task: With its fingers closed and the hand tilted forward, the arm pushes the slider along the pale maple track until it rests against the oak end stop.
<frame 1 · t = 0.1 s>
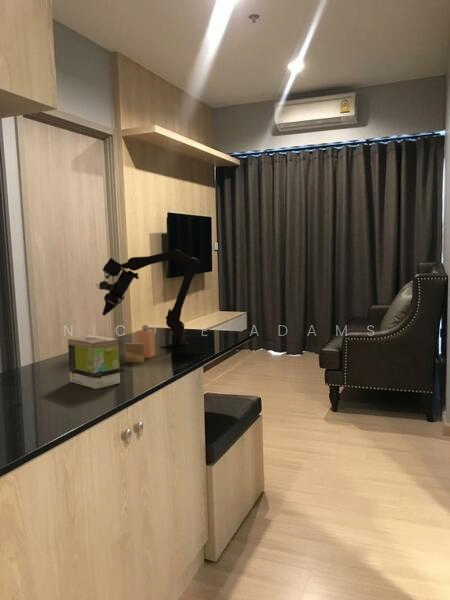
hand: (105, 313, 225), 15 cm above the worktop, tool tilted 35°, fingers open, 9 cm apart
tea box: (95, 383, 169), on the worktop
track: (145, 360, 199), on the worktop
slider: (146, 340, 199), point 7 cm above the worktop, slide at 0.0 cm
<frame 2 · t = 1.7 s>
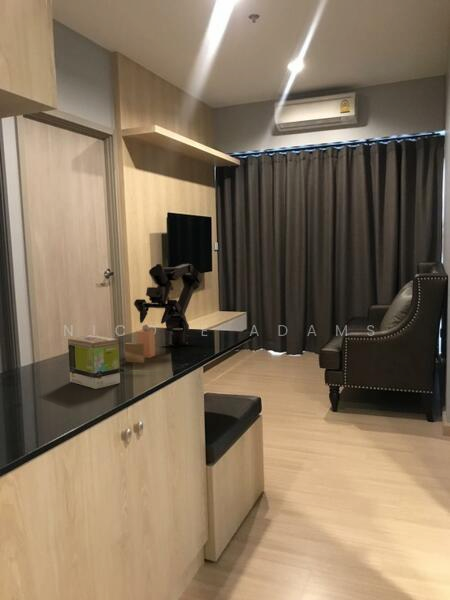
hand: (151, 322, 204), 13 cm above the worktop, tool tilted 45°, fingers open, 9 cm apart
nothing on the worktop moved.
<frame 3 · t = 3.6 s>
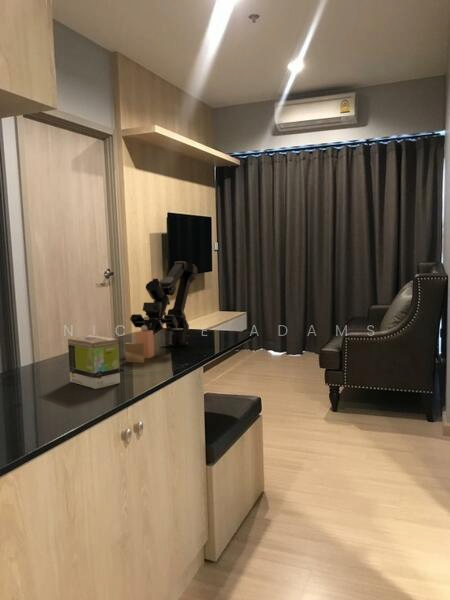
hand: (147, 338, 200), 8 cm above the worktop, tool tilted 45°, fingers closed, pressing on slider
slider: (144, 341, 198), point 7 cm above the worktop, slide at 1.1 cm, touching gripper
everything else where it was.
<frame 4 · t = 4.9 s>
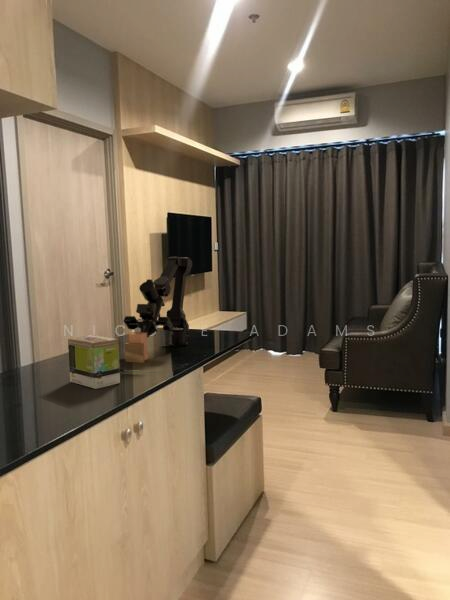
hand: (141, 341, 195), 8 cm above the worktop, tool tilted 45°, fingers closed, pressing on slider
slider: (138, 343, 193), point 7 cm above the worktop, slide at 6.3 cm, touching gripper
everything else where it was.
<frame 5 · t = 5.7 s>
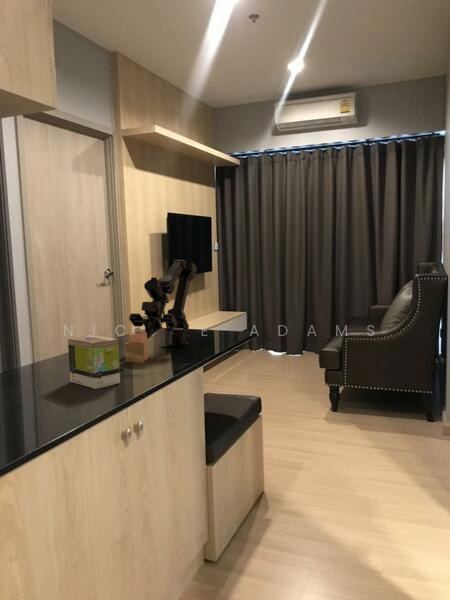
hand: (146, 338, 200), 8 cm above the worktop, tool tilted 45°, fingers closed
slider: (138, 343, 193), point 7 cm above the worktop, slide at 6.2 cm
everything else where it was.
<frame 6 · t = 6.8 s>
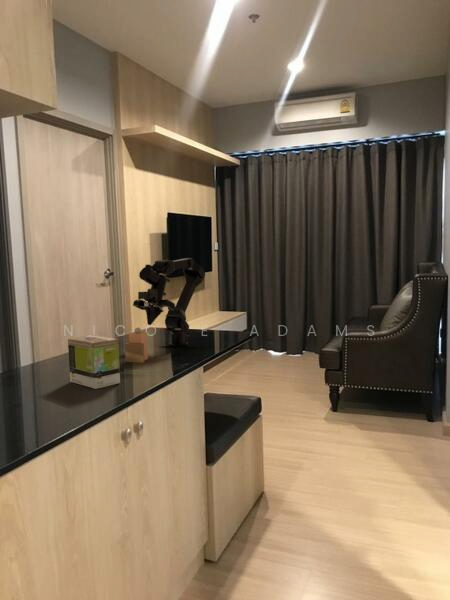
hand: (149, 324, 210), 12 cm above the worktop, tool tilted 25°, fingers closed
nothing on the worktop moved.
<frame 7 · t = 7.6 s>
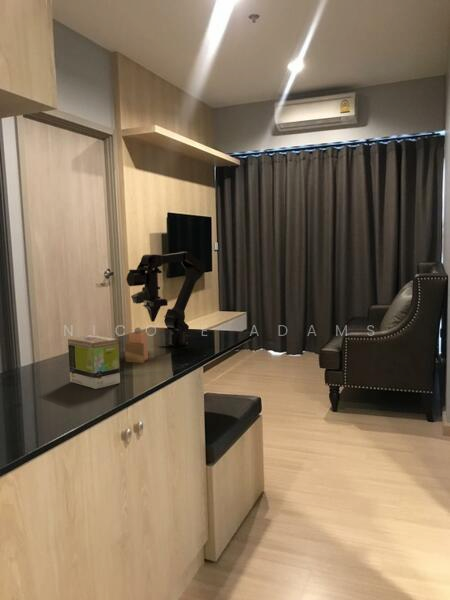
hand: (152, 321, 218), 12 cm above the worktop, tool pointing down, fingers closed
nothing on the worktop moved.
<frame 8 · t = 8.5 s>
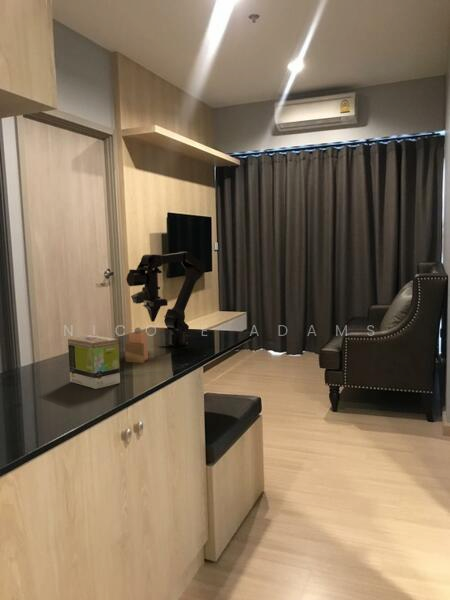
hand: (152, 321, 218), 12 cm above the worktop, tool pointing down, fingers closed
nothing on the worktop moved.
at the end: slider slide at 6.2 cm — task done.
